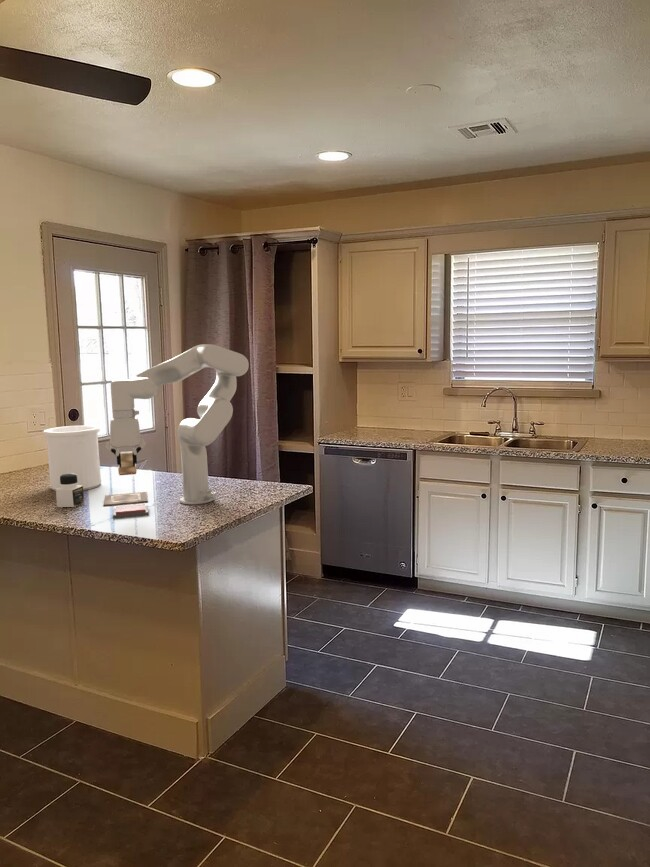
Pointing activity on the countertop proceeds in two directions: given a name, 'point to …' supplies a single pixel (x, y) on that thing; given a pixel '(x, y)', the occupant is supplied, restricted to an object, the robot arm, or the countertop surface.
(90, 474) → the bucket
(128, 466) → the stamp
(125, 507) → the ink pad
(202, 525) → the countertop surface
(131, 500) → the marked board
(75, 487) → the medicine bottle
